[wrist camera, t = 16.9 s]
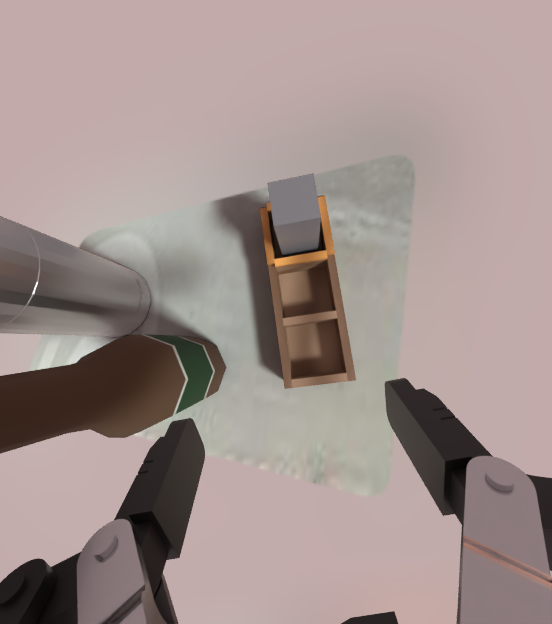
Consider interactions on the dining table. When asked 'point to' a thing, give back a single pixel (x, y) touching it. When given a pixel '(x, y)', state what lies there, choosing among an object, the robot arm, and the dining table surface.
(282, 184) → the block
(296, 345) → the bay rack
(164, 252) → the dining table surface
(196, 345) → the beer bottle
